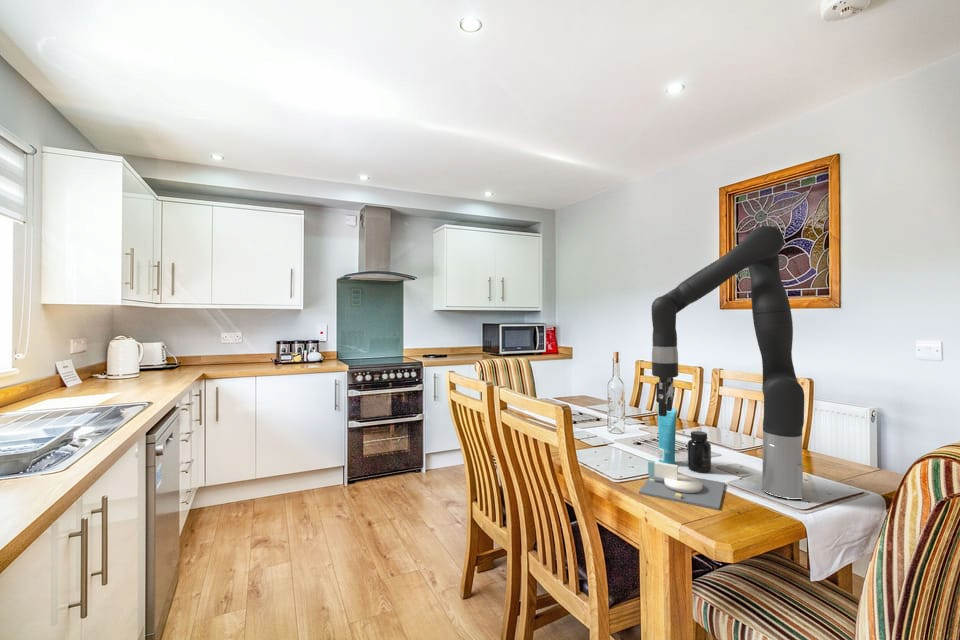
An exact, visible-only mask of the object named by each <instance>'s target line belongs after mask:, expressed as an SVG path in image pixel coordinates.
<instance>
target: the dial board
mask: <svg viewBox="0 0 960 640" xmlns="http://www.w3.org/2000/svg"><path fill="white" fill-rule="evenodd" d="M678 475H680V474H679V473H678ZM693 477H694V476H693ZM694 478H696V479H698V480H700V481H701V482H702V491H700V492H697V493H684V492H679V491H675V490H672V489H670V488H668V487H666V486H665V484H664V478H660V477H653V476H648V478H647V480H646V481H645V482H644V484H643V485H642V486H641V488H640V489H639V491H638V494H639V495H643V494H644V496H648V495H649V496H648V497H653V496H654V497H653V498H659V499H662V500H663V499H664V500H668V501H672V500H673V502H677V501H678V502H679V503H682V504H687V505H692V506H693V505H694V506H697V507H701V508H707V509H710V510H711V509H712V510H717V511H720V507H721V503H722V499H723V495H724V491H725V490H724V489H725V485H726V482H723V481H718V480H717V481H716V480H711V479H705V478H701V477H700V478H699V477H696V476H695V477H694Z"/></svg>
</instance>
